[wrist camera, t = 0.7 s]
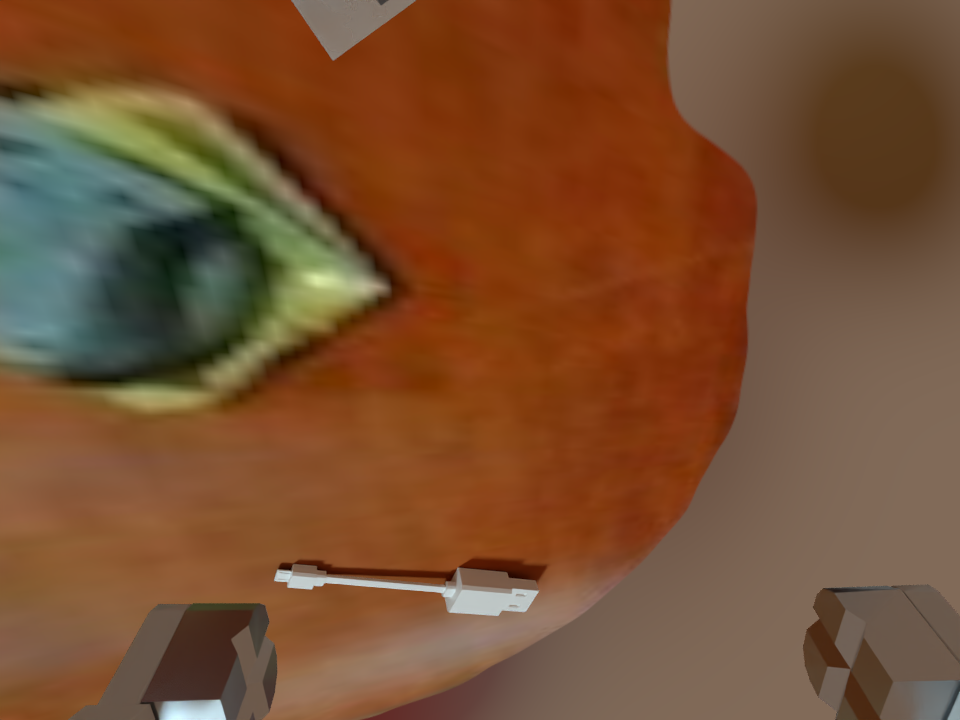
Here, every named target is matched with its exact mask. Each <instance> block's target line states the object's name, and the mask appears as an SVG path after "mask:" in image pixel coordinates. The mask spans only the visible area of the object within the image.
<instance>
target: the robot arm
mask: <svg viewBox="0 0 960 720" xmlns="http://www.w3.org/2000/svg"><path fill="white" fill-rule="evenodd" d="M813 608H814V610H815V611H816V613H817V615H818V617H819V620H818V621H817V622H815V623H814V624H813V625H812V626H810V627H809V628H808V629H807V631H806V636H805V640H804V645H803V651H804V660H805V667H806V670H807V673H808V676H809V679H810V682H811V684H812V686H813V688H814V690H815V692H816V694H817V696H818V697H819V698H820V699H821V700H823V701H824V702H825V703H826V704H828V705H829V706H830V707H832V708H833V709H834V710H836V711H837V714H836V719H835V720H960V616H959V615H958V613H957V612H956V611H955V610H954V609H953V608H952V606H951V605H950V604H949V603H948V602H947V600H946V599H945V598H944V597H943V596H942V595H941V593H940V592H939V591H937V590H936V589H934V588H933V587H931V586H930V585H901V586H891V587H889V586H872V587H871V586H869V587H842V588H823V589H822V590H821V591H820V592H819V593H818V594H817V596H816V599H815V602H814V606H813ZM268 624H269V618H268V615H267V611H266V607H265V605H263V604H260V603H193V604H158V605H157V606H156V607H155V608H154V609H152V610H151V611H150V612H149V613H148V615H147V617H146V619H145V620H144V622H143V624H142V626H141V628H140V629H139V631H138V633H137V635H136V637H135V638H134V640H133V642H132V644H131V646H130V647H129V649H128V651H127V653H126V654H125V656H124V658H123V660H122V662H121V663H120V665H119V667H118V669H117V671H116V672H115V674H114V676H113V678H112V680H111V681H110V683H109V685H108V687H107V688H106V690H105V692H104V694H103V696H102V697H101V699H100V701H99V703H98V705H89V706H85V707H84V708H83V709H81V710H80V711H79V712H77V713H76V714H75V715H73V716H72V717H71V718H70V719H68V720H262V719H263V718H264V717H265V716H266V715H267V714H268V713H269V712H270V708H271V704H272V701H273V697H274V693H275V686H276V678H277V655H276V650H275V645H274V643H273V642H272V641H271V640H269V639H268V638H267V637H266V636H265V633H266V630H267V627H268Z"/></svg>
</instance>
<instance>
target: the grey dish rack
mask: <svg viewBox="0 0 960 720" xmlns="http://www.w3.org/2000/svg"><path fill="white" fill-rule="evenodd" d="M414 1H416V0H388V1H387V2H385V3H384V4H383V5H380V4H379V3H378V2H377V1H376V0H292V2H293V3H294V5H295V6H296V8H297V9H298V11H299V12H300V14H301V15H302V16H303V18H304V19H305V21H306V22H307V24H308V25H309V27H310V28H311V29H312V31H313V32H314V34H315V35H316V37H317V38H318V40H319V41H320V42H321V44H322V45H323V47H324V48H325V50H326V51H327V53H328V54H329V56H330V57H331V58H332V60H335V59H336V58H337V57H339V56H340V55H342V54H343V53H344V52H346V51H347V50H348V49H350V48H351V47H353V46H354V45H355V44H357V43H358V42H359V41H361V40H362V39H364V38H365V37H366V36H368V35H369V34H370V33H372V32H373V31H375V30H376V29H377V28H379V27H380V26H381V25H383V24H384V23H386V22H387V21H388V20H390V19H391V18H392V17H394V16H395V15H397V14H398V13H399V12H401V11H402V10H403V9H405V8H406V7H408V6H409V5H410V4H412V3H413V2H414Z"/></svg>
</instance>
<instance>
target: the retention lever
mask: <svg viewBox="0 0 960 720" xmlns="http://www.w3.org/2000/svg"><path fill="white" fill-rule="evenodd" d="M376 1H377V2H378V3H379V4H380V5H383V4H384V3H385V2H387V1H388V0H376Z"/></svg>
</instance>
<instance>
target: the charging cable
mask: <svg viewBox="0 0 960 720" xmlns="http://www.w3.org/2000/svg"><path fill="white" fill-rule="evenodd" d="M274 581H281V582H287V587H289V588H301V589H312V588H313V585H314V586H323V584H324V583H333V584H345V585H357V586H369V587H381V588H393V589H405V590H416V591H428V592H440V593H442V597H445V600H446V606H447V611H448V612H452V613H466V614H480V615H494V616H499V614H500V612H501V611H502V610H506V611H519V612H526V611H527V609H528V607H529V606H530V604H531V603H532V601H533V600H534V598H535V596H536V595H537V593H538V592H539V589H538V586H537V583H536V580H526V579H516V578H509V577H508V573H507V572H500V571H490V570H479V569H469V568H458V569H457V570H456V572H455V574H454V576H453V578H452V580H451V581H446V582H445V584H444V585H440V584H429V583H418V582H406V581H395V580H384V579H373V578H361V577H350V576H339V575H328V574H326V571H320V570H317V566H311V565H300V564H293V565H292V568H291V570H282V569H277V572H276V575H275V579H274Z"/></svg>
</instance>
